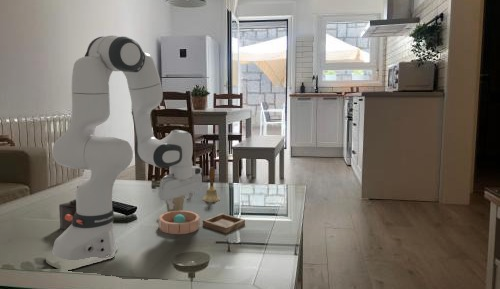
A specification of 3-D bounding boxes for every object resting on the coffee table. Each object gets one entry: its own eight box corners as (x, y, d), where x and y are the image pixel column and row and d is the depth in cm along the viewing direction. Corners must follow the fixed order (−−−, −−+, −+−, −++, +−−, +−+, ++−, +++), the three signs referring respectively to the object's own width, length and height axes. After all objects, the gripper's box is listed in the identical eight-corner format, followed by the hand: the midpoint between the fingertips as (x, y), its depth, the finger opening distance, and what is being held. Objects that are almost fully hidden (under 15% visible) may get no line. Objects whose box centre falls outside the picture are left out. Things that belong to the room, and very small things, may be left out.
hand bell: (219, 202, 197) (220, 169, 194) (201, 201, 197) (202, 168, 194) (220, 197, 205) (221, 165, 202) (203, 196, 205) (204, 164, 203)
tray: (226, 233, 160) (226, 228, 160) (202, 225, 167) (202, 220, 167) (244, 224, 170) (245, 219, 170) (222, 217, 177) (222, 213, 177)
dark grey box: (57, 228, 159) (55, 182, 156) (83, 220, 168) (82, 177, 164) (81, 239, 150) (79, 190, 147) (107, 230, 159) (106, 184, 156)
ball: (179, 228, 162) (179, 217, 161) (171, 225, 165) (171, 214, 164) (187, 225, 166) (187, 214, 165) (179, 222, 168) (179, 211, 167)
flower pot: (164, 217, 175) (164, 197, 173) (162, 210, 184) (162, 191, 182) (187, 216, 177) (187, 196, 176) (184, 208, 186) (184, 190, 185)
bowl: (179, 237, 154) (179, 227, 154) (150, 227, 163) (150, 217, 163) (207, 226, 167) (207, 216, 166) (179, 217, 176) (179, 207, 175)
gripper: (166, 178, 151) (166, 215, 154) (204, 167, 168) (204, 200, 170) (154, 175, 155) (155, 210, 158) (193, 165, 171) (193, 197, 174)
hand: (181, 205), depth 164 cm, fingers open, 8 cm apart
